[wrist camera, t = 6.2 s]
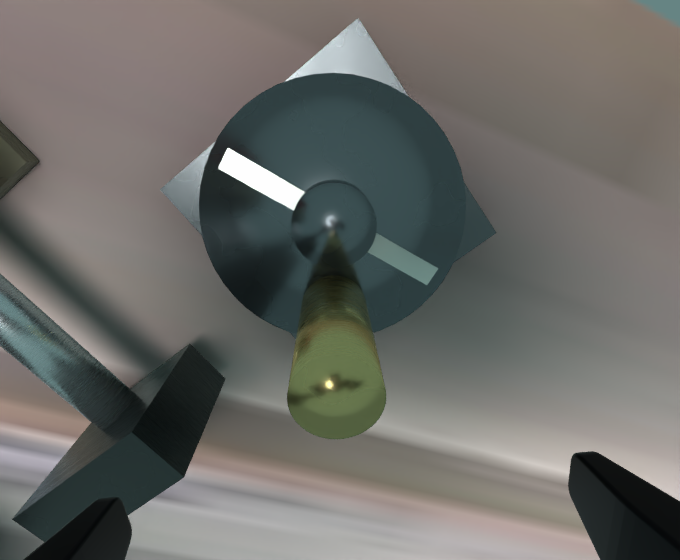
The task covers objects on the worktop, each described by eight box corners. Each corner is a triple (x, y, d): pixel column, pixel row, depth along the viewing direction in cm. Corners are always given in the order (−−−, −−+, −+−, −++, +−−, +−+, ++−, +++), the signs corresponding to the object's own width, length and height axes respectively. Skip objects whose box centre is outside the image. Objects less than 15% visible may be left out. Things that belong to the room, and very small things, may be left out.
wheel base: (314, 348, 20) (314, 359, 19) (169, 186, 18) (160, 189, 17) (487, 227, 19) (496, 232, 18) (356, 24, 16) (357, 18, 15)
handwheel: (503, 166, 16) (641, 192, 9) (372, 358, 19) (399, 494, 12) (280, 20, 15) (233, -92, 7) (171, 256, 17) (57, 345, 10)
